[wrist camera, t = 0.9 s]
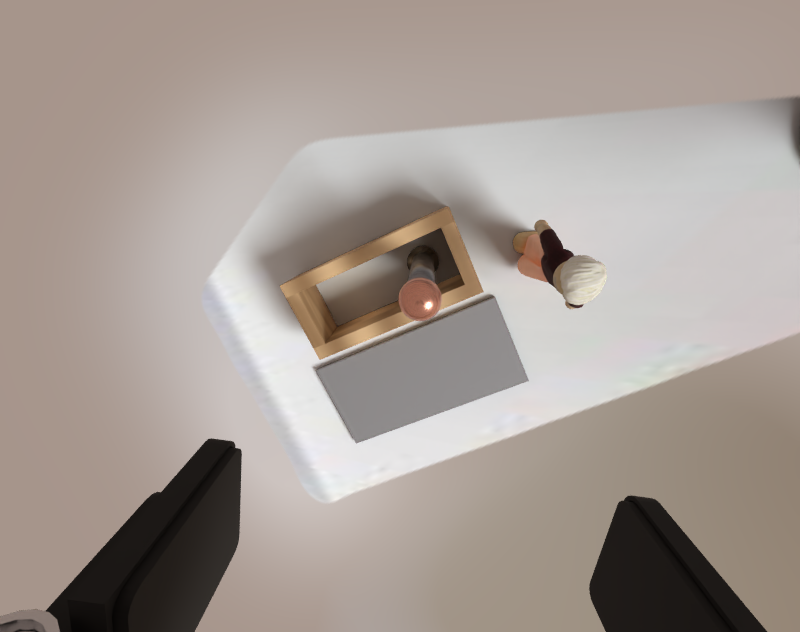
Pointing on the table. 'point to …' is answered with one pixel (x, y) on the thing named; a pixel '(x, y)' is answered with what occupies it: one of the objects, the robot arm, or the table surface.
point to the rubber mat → (424, 371)
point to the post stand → (421, 285)
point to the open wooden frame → (389, 317)
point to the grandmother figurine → (559, 265)
